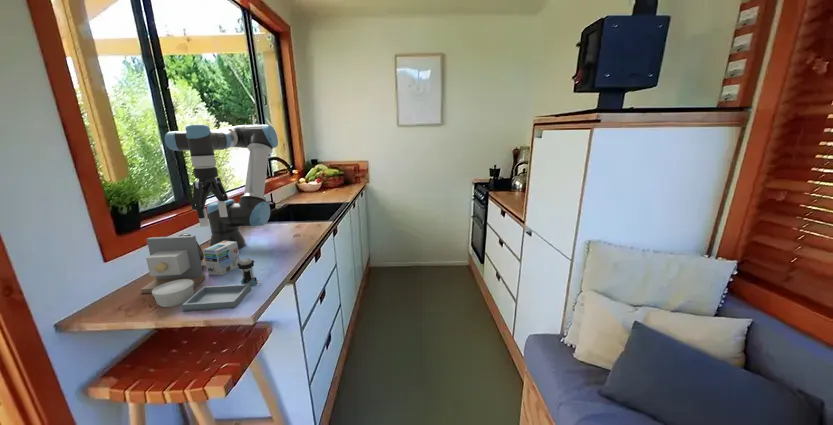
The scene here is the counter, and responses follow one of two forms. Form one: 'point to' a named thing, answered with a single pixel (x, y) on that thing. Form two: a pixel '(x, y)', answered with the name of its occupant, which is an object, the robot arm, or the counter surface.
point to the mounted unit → (173, 260)
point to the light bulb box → (222, 257)
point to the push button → (247, 272)
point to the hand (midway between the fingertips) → (214, 221)
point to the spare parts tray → (217, 297)
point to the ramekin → (173, 292)
